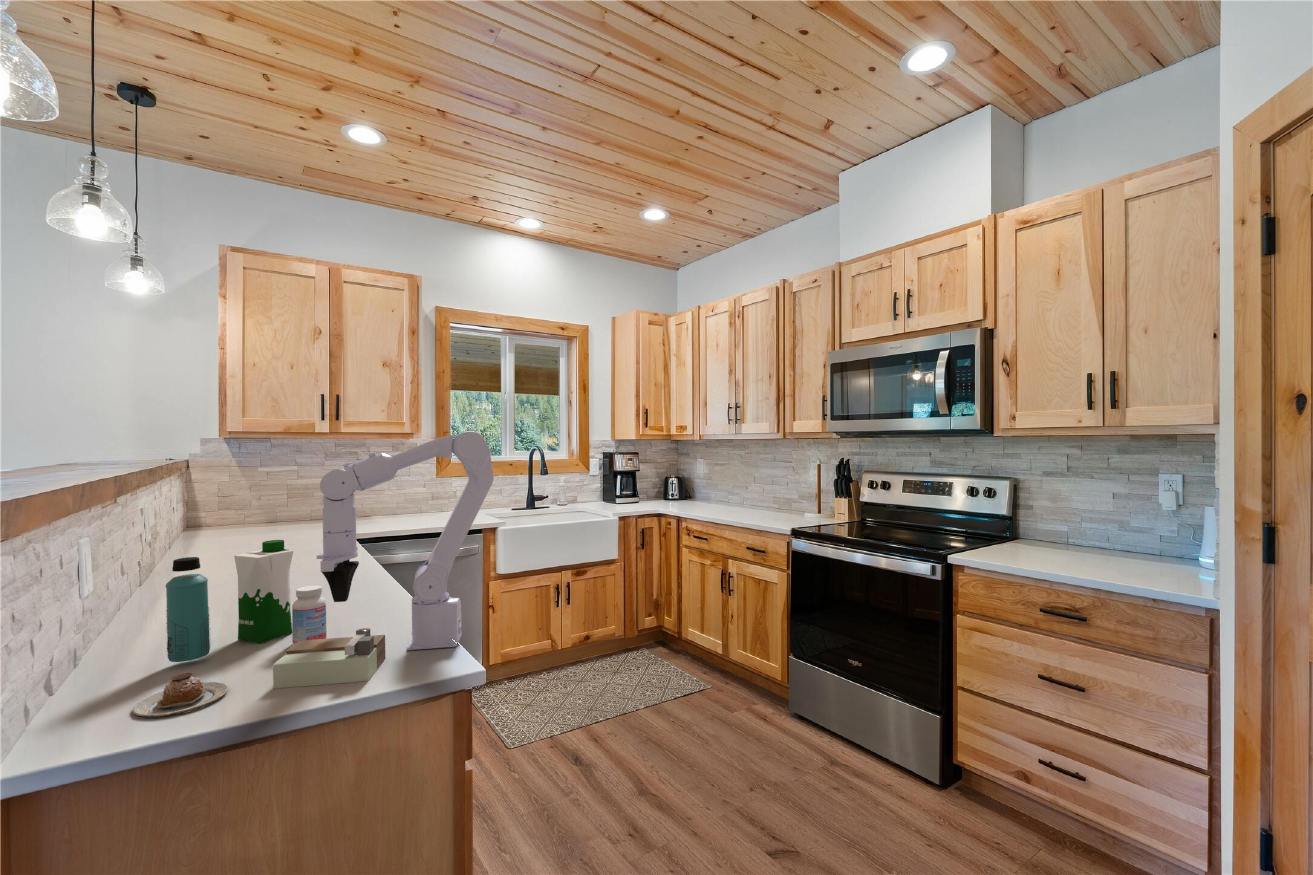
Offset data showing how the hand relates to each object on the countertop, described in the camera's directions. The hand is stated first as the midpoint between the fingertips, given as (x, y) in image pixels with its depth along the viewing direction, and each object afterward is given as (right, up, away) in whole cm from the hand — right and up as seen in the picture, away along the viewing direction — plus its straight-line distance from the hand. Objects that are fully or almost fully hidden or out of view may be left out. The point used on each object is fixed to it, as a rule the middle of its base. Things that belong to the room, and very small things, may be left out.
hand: (340, 600), depth 115 cm
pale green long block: (+4, -10, -12) cm, 16 cm away
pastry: (-15, -11, -20) cm, 27 cm away
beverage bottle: (-27, -11, -4) cm, 29 cm away
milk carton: (-22, -11, +11) cm, 27 cm away
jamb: (+3, -10, -6) cm, 12 cm away
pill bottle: (-10, -11, +7) cm, 17 cm away
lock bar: (+8, -6, -9) cm, 13 cm away
